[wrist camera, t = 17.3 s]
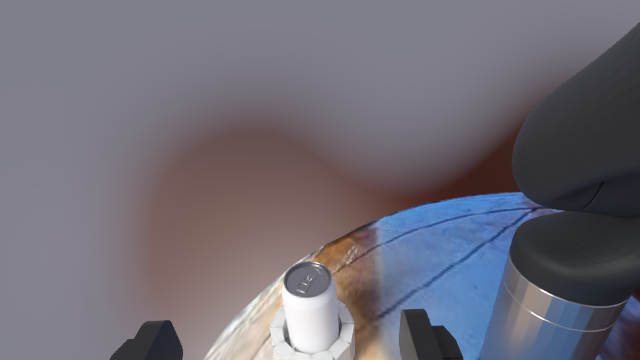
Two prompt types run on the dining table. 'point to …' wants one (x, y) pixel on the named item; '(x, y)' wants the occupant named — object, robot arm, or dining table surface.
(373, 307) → the dining table surface
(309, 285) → the can
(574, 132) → the robot arm
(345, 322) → the holder
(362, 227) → the dining table surface
